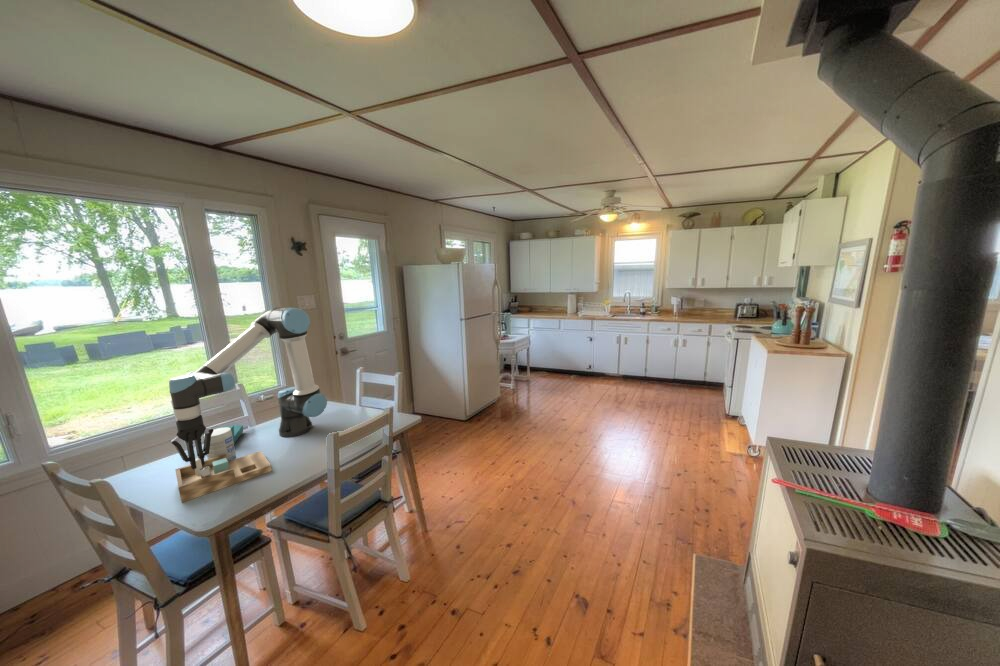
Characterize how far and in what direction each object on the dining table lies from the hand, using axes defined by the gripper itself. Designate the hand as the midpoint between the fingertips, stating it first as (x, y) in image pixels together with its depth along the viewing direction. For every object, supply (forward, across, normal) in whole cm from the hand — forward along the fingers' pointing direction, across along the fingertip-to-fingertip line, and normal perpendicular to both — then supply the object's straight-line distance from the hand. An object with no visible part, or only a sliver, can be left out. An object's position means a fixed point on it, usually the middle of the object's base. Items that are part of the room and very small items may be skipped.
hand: (199, 474), depth 138 cm
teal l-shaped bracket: (+5, -22, -36) cm, 42 cm away
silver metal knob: (+2, 0, +6) cm, 6 cm away
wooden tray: (+4, -7, +2) cm, 9 cm away
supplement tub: (+5, -12, -12) cm, 17 cm away
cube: (+2, -6, +2) cm, 7 cm away
